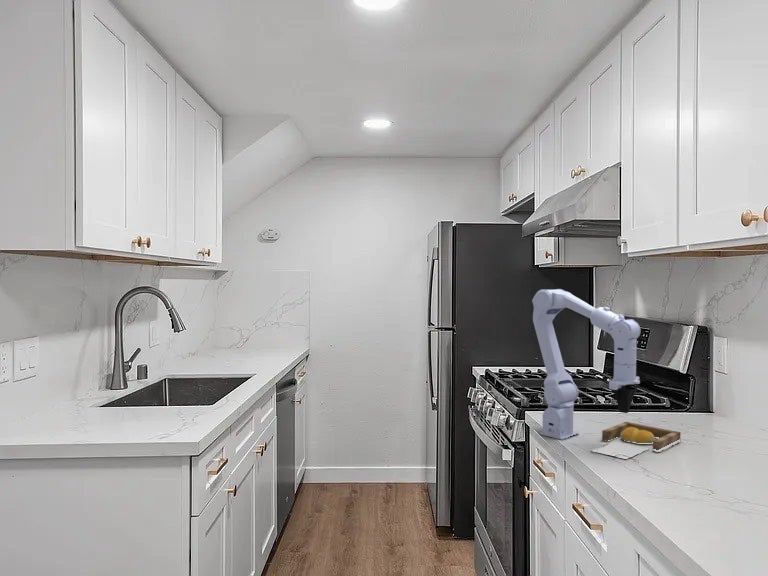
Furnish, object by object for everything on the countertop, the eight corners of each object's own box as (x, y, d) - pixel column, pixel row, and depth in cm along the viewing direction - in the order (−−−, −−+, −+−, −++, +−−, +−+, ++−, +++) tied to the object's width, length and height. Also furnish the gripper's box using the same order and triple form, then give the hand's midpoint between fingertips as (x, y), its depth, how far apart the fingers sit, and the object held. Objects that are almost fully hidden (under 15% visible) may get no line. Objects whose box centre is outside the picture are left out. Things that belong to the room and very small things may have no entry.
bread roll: (648, 448, 172) (648, 434, 172) (617, 441, 179) (617, 427, 179) (659, 442, 178) (660, 428, 178) (629, 435, 185) (629, 422, 184)
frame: (658, 453, 167) (658, 442, 167) (602, 440, 178) (602, 430, 178) (680, 442, 177) (680, 432, 177) (625, 431, 189) (625, 421, 189)
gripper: (627, 368, 161) (626, 419, 162) (650, 362, 171) (649, 410, 172) (602, 364, 167) (601, 414, 167) (626, 359, 177) (624, 406, 177)
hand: (623, 412), depth 170 cm, fingers closed
